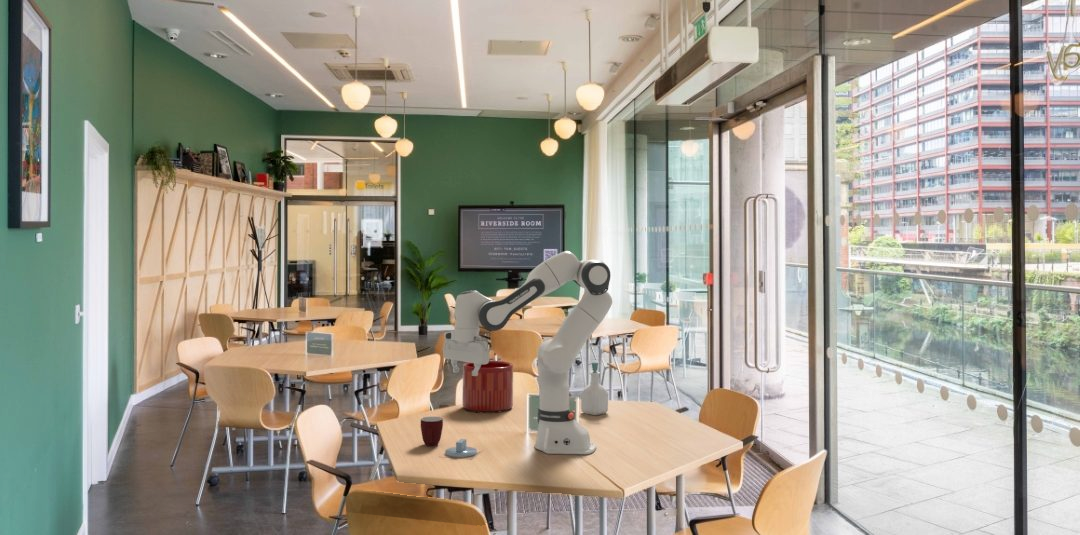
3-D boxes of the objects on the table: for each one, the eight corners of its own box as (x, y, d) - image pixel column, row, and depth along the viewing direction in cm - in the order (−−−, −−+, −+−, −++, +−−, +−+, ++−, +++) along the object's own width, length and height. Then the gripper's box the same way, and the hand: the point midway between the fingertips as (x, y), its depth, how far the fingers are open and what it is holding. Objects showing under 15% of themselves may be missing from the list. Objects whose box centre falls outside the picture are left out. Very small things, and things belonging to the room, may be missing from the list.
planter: (492, 416, 314) (493, 369, 313) (452, 409, 326) (452, 364, 326) (522, 406, 333) (523, 363, 333) (483, 400, 346) (483, 359, 345)
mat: (482, 451, 257) (482, 450, 257) (471, 461, 245) (471, 459, 245) (451, 449, 259) (451, 447, 259) (438, 458, 248) (438, 456, 248)
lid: (481, 450, 256) (481, 437, 256) (470, 459, 246) (470, 445, 245) (452, 448, 259) (452, 435, 259) (440, 456, 248) (440, 443, 248)
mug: (442, 450, 258) (443, 422, 258) (420, 451, 257) (420, 423, 256) (442, 443, 268) (442, 416, 268) (420, 443, 267) (420, 416, 267)
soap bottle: (594, 410, 328) (594, 360, 327) (609, 413, 320) (610, 362, 320) (579, 413, 321) (579, 362, 321) (595, 416, 314) (595, 364, 314)
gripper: (493, 337, 254) (492, 376, 254) (453, 332, 267) (452, 369, 267) (481, 339, 249) (480, 378, 249) (440, 333, 262) (439, 371, 262)
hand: (465, 374), depth 258 cm, fingers open, 8 cm apart
